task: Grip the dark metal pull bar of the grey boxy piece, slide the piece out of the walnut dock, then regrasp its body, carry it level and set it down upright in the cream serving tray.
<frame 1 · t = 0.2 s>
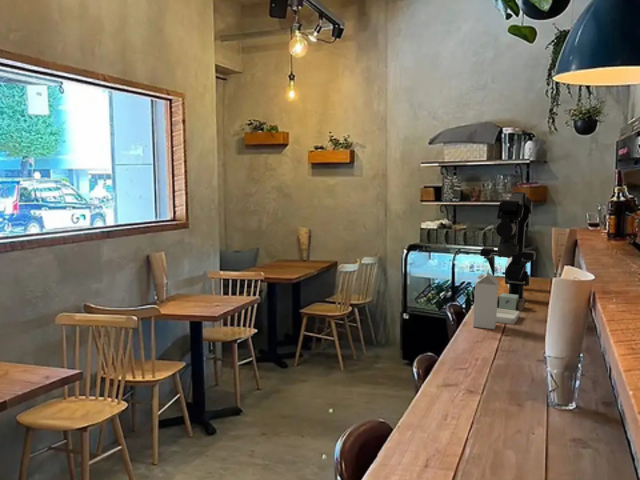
hand: (506, 276, 222), 14 cm above the bar counter, fingers open, 9 cm apart
tray: (499, 318, 217), on the bar counter
dock: (508, 307, 232), on the bar counter
milk carton: (484, 326, 206), on the bar counter
drinking glass: (514, 288, 269), on the bar counter
grey boxy piece: (508, 308, 232), on the bar counter
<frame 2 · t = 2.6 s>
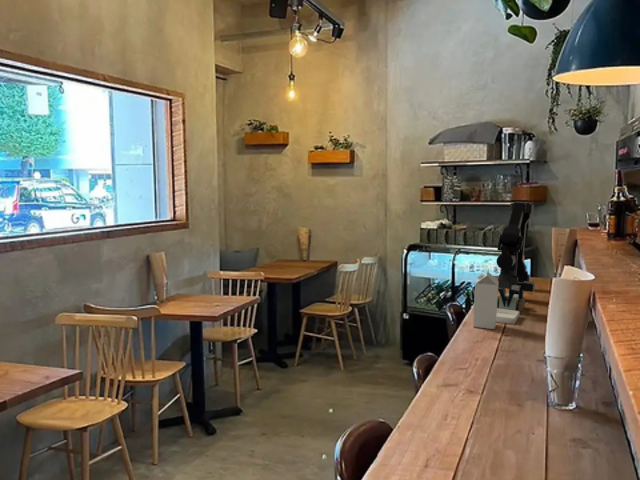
hand: (506, 306, 228), 2 cm above the bar counter, fingers closed on grey boxy piece
grey boxy piece: (508, 307, 233), on the bar counter, touching gripper
everything else where it was.
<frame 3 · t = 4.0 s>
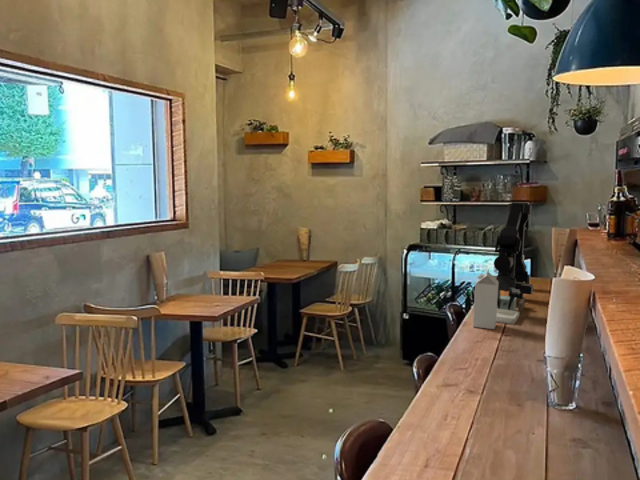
hand: (503, 309, 223), 2 cm above the bar counter, fingers open, 3 cm apart
grey boxy piece: (506, 311, 228), on the bar counter
everything else where it was.
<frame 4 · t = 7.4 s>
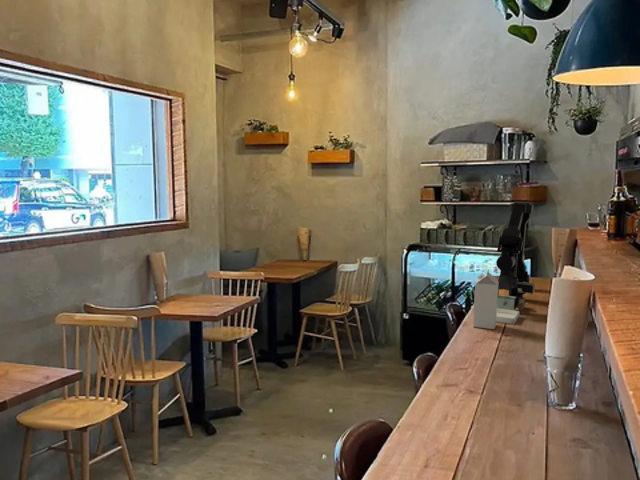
hand: (506, 308, 228), 1 cm above the bar counter, fingers closed on grey boxy piece, 6 cm apart
grey boxy piece: (506, 310, 228), on the bar counter, touching gripper
everything else where it was.
when the fingers open (3 cm above the bar counter, at t = 12.6 s): grey boxy piece drops 1 cm, resting on tray.
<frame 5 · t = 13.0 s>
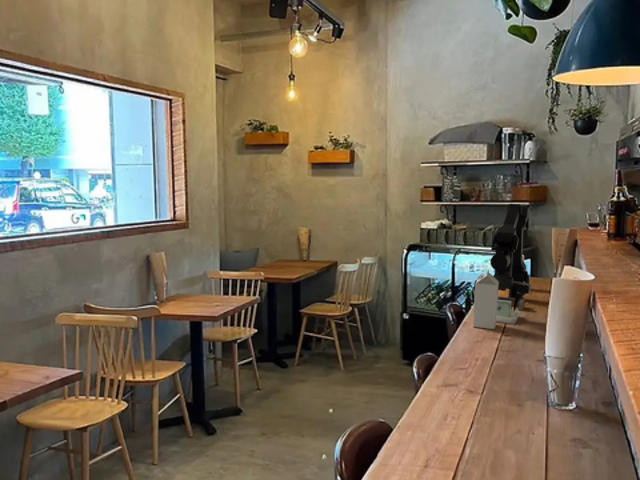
hand: (500, 309, 217), 3 cm above the bar counter, fingers open, 9 cm apart
grey boxy piece: (500, 315, 218), point 1 cm above the bar counter, touching tray
everything else where it was.
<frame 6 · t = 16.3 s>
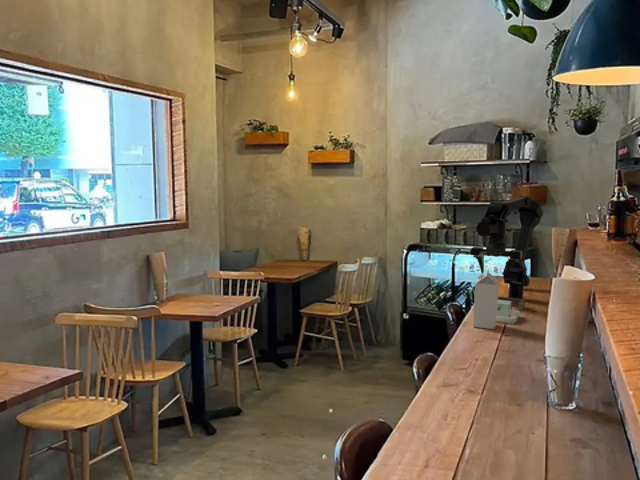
hand: (494, 275, 234), 12 cm above the bar counter, fingers open, 9 cm apart
nothing on the bar counter moved.
at the end: grey boxy piece 0.7 cm from the target spot on the tray, point 0.6 cm above the tray's base; grey boxy piece tilted 0°; the gripper is holding nothing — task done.
